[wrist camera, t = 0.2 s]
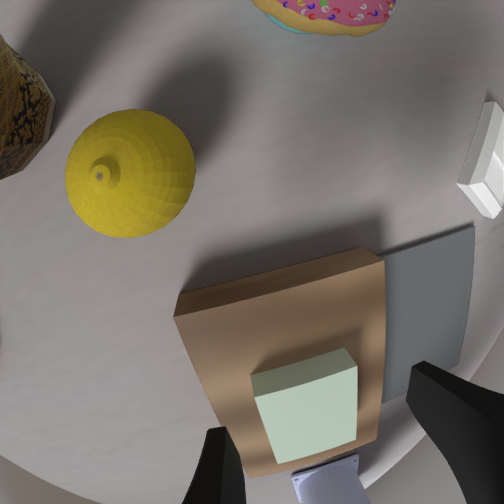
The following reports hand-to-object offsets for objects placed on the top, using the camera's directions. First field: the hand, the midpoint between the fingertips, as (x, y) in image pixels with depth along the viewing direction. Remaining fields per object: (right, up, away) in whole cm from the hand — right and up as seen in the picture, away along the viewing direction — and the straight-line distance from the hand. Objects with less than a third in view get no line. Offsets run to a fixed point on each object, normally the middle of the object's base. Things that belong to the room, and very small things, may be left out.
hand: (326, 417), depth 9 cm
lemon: (-8, +11, +6) cm, 15 cm away
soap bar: (+17, +14, +9) cm, 24 cm away
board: (+1, -4, +12) cm, 12 cm away
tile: (+1, -4, +9) cm, 10 cm away
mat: (+12, 0, +12) cm, 17 cm away
